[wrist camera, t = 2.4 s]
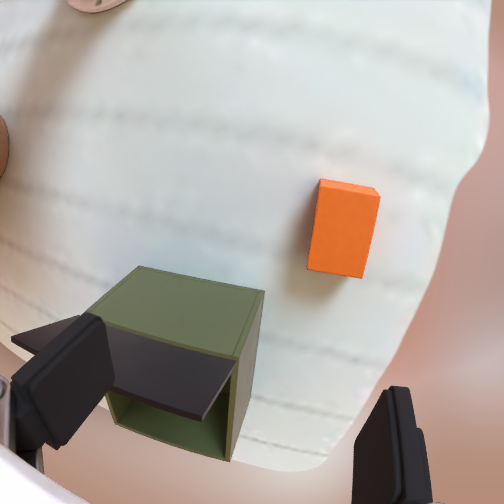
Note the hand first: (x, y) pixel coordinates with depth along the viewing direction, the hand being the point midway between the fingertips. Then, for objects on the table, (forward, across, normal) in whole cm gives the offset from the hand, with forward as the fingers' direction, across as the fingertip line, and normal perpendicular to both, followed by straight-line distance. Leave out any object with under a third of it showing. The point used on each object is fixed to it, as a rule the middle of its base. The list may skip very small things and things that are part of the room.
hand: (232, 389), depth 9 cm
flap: (+5, +8, +6) cm, 11 cm away
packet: (+19, -4, -1) cm, 19 cm away
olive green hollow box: (+19, +8, +14) cm, 25 cm away
